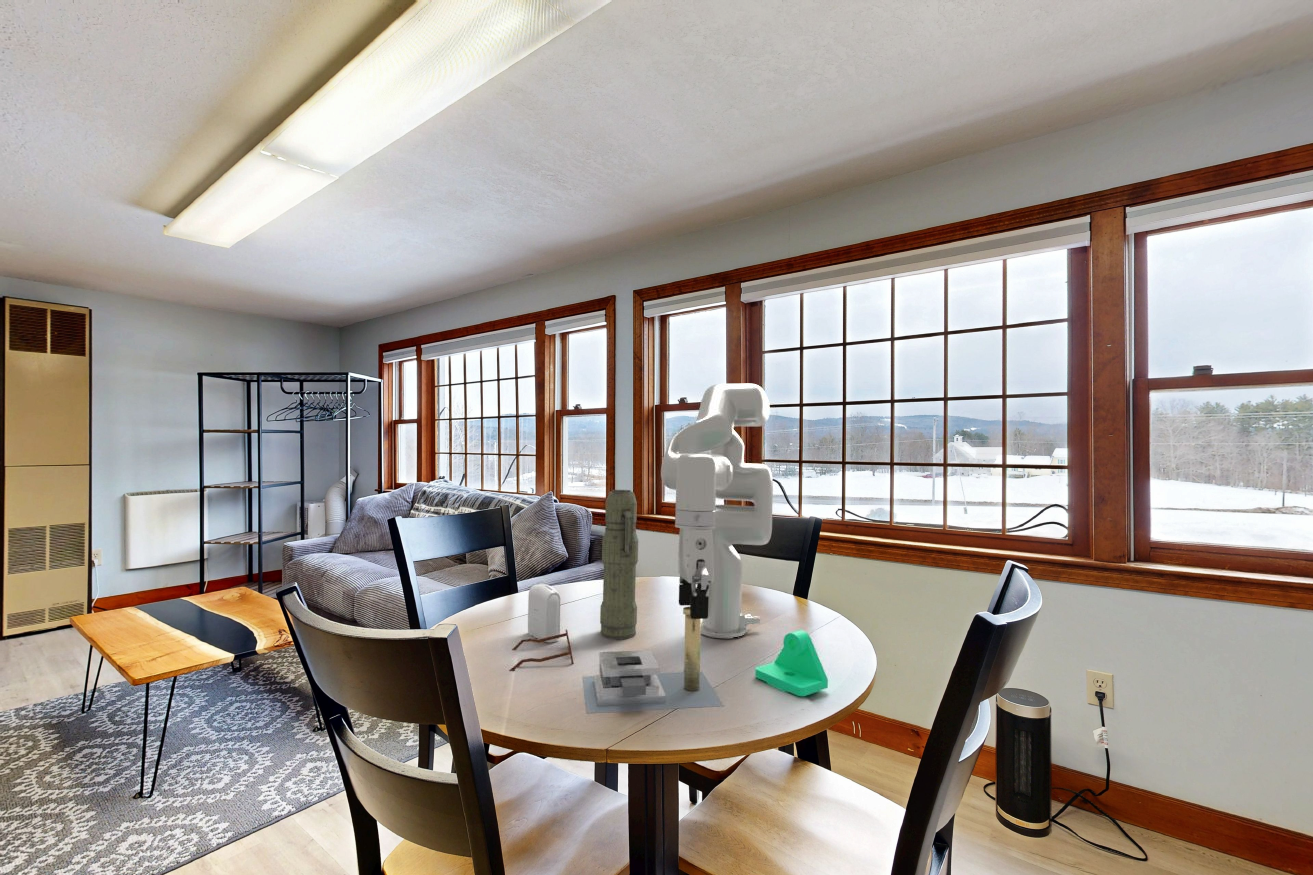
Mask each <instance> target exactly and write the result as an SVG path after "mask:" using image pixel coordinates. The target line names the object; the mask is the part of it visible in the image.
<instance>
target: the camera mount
mask: <svg viewBox="0 0 1313 875" xmlns="http://www.w3.org/2000/svg"><path fill="white" fill-rule="evenodd" d="M755 677H756V678H757V679H759V680H761V681H764V682H766V684H767V685H769V686H771V687H773V688H776V689H778V690H781V691H782V692H784V693H787V692H789V693H791V694H793V695H796V696H798V697H807V696H809V695H811V694H815V693H816V692H817V693H818V692H820V691H823V690H825V689H828V686H829V679H828V677H827V674H826V671H825V670H824V667H823V665H822V663H821V660H820V657H819V654H818V652H817V650H816V648H815V645H814V643H813V641H812V638H811V636H810V634H808V632H806V631H805V630H803V629H801V630H800V629H799V630H796V631H792V632H789V633H786V634H784V637H783V647H782V648H781V649H780V652H779V653H778V655H777V657H776V659H774V661H773V662H770V663H766V664H762V665H760V666H756V667H755Z"/></svg>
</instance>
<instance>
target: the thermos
mask: <svg viewBox="0 0 1313 875" xmlns="http://www.w3.org/2000/svg"><path fill="white" fill-rule="evenodd" d="M637 504H638V501H637V498H636V495H635V492H634V491H632V490H630V489H612V490H611V491H609V492H608V495H607V498H606V501H605V520H604V522H605V528H604V529H605V530H604V531H605V532H604V535H603V538H602V548H601V549H602V550H601V561H602V564H603V582H602V584H603V585H602V587H603V588H602V590H603V591H602V592H603V593H602V602H601V605H600V612H599V613H600V616H599V617H600V618H599V619H600V620H599V621H600V622H599V623H600V635H601V636H602V637H603V638H606V639H611V640H625V639H630V638H633V637H634V636H636V634H637V623H638V605H637V603H636V581H637V579H636V578H637V576H636V575H637V574H636V573H637V564H638V562H639V538H638V535H637V527H636V523H637V515H638V514H637V512H638V511H637V510H638V509H637V508H638V506H637Z"/></svg>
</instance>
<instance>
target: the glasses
mask: <svg viewBox="0 0 1313 875" xmlns="http://www.w3.org/2000/svg"><path fill="white" fill-rule="evenodd" d="M563 637H566V641H567V647H568V651H564V652H561V653H558V654H554V655H549V656H545V657H542V658H536V657H535V658H534V657H533V658H531V657H529V658H523V659H521V660H520V661H519V662H517V663H516V664H515V665H514V666H512V667H511V668H510V669H509V672H513V671H514V672H515V670H516V669H517V668H519V667H520V666H521V665H523V664H524V663H530V662H534V663H535V662H536V663H542V662H545V661H549V660H550V661H551V660H554V659H559V658H562V657H566V656H570V661H571V665H573V664H574V658H573V653H572V647H571V642H570V639H569V633H568V629H565V633H560V634H559V635H555V636H551V637H547V638H543V639H538V638H537V639H536V638H525V639H521V640H520V641H519V642H518V643H517V644H516V645H515V646H514V647H513V648H512V649H511V651H516V650H517V649H518V648H519V647H520V646H521V645H522V644H524V643H528V642H529V643H530V642H532V643H544V642H545V641H548V640H552V639H556V638H559V639H560V638H563Z"/></svg>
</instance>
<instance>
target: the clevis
mask: <svg viewBox="0 0 1313 875" xmlns="http://www.w3.org/2000/svg"><path fill="white" fill-rule="evenodd" d="M598 658H599V660H598V662H599V664H598V666H599V667H598V674H593V676H594V687H595V693H596V699H597V705H598V706H610V705H629V704H649V703H666V695H665V693H664V690H663V688H662V686H661V684H660V682H659V679H658V677H657V675H659V673H660V666H659V664H658V662H657V660H656V658H655V656H654V654H653V651H652V650H647V649H645V650H627V651H626V650H623V651H622V650H621V651H620V650H619V651H618V650H617V651H600V652H599V657H598Z"/></svg>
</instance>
